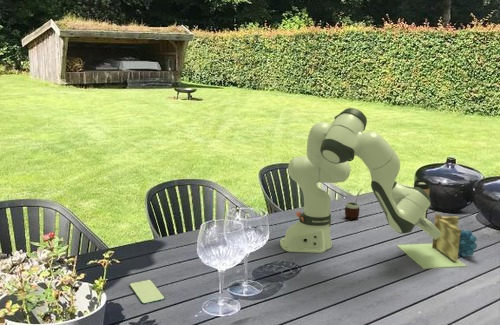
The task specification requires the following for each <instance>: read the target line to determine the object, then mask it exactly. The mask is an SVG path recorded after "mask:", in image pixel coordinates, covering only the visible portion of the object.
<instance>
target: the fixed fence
mask: <svg viewBox="0 0 500 325" xmlns="http://www.w3.org/2000/svg"><path fill="white" fill-rule="evenodd" d="M438 219H444V220H445V221H447V222H449V223H450V224H452V225H454V226H455V227H457V228H458V227H459V220H460V217H459V216H457V215H454V216H452V215H450V216H442V215H441V214H435V215H434V223H433V224H434V225H435V226H436V227H437V228H438V222H439V221H438ZM436 242H437V239H436V240H435V239H434V238H432V243H433V244H432V248H434V249H437V248H436Z"/></svg>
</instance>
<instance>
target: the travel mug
mask: <svg viewBox="0 0 500 325" xmlns="http://www.w3.org/2000/svg"><path fill="white" fill-rule="evenodd" d="M413 187H419V188H421V189H423V190H424V191H425V192H426V193H427V194H428V195H429V196H430V190H431V182H430V181H426V180H414V183H413ZM428 210H429V208H428V209H427V210H426V214H425V215H426V217H425V218H426V219H428Z"/></svg>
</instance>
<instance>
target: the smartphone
mask: <svg viewBox="0 0 500 325" xmlns="http://www.w3.org/2000/svg"><path fill="white" fill-rule="evenodd" d="M129 287H130V289H131V291H132V292H133V293H134V294H135V296H136V297H137V299H138V300H139V302H140V303H141V304H142V305H148V304H147V303H149V304H152V302H153V303H155V302H156V301H157V302H161V300H162V301H164V300H165V298H166V297H165V296H164V295H163V293H162V292H161V291H160V290H159V288H158V287H157V286H156V285H155V283H154V282H153V280H152V279H146V280H140V281H135V282H131V283H129Z"/></svg>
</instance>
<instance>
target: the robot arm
mask: <svg viewBox="0 0 500 325" xmlns="http://www.w3.org/2000/svg"><path fill="white" fill-rule="evenodd" d="M333 118H334V120H333V121H332V122H331V123H329V122H326V121H320V122H316V123H315V124H313V125H312V127H311V128H310V130H309V133H308V137H307V144H306V155H301V156H295V157H293V158H291V160H290V161H289V163H288V167H287V172H288V174H289V177H290V178H291V180H293V181H294V182H296V183H297V185H298V186H299V188H300V189H301V191H302V194H303V205H304V206H303V207H304V208H303V212H300V211H297V212H296V217H297V218H299V220H298V221H297V222H296V223H294V224H293V225H291V226H289V227H288V228H287V229H286V232H285V237H283V238H280V239H279V245H280V247H281V248H282V249H283V250H284V251H286V252H290V253H312V254H313V253H316V254H318V253H319V254H322V253H325V252H326V251H328V250H330V249H331V248H332V247H333V243H332V242H333V241H332V238H331V236H332V235H331V226H332V224H331V223H332V214H331V204H332V203H331V201H332V200H331V199H332V198H331V195H330V194H329V193H328V192H327V191H326V190H323V189H321V188H320V187H319V186H318V185H317V184H318V183H321V184H322V183H325V184H337V183H344V182H346V181H347V180H348V179H349V177H350V175H351V165H350V162H352V161H353V160H354V159H355V156H356V157H357V158H359V159H360V160H361V161H362V162H363V164H365V166H366V167H367V169H368V171H369V173H370V179H371V181H370V182H371V184H370V187H371V190H372V192H373V194H374V196H375V198H376V200H377V201H378V204H379V205H380V207H381V210H382V211H383V213H384V215H385V217H386V220H387V224H388V225H389V227H390V228H391V229H392V230H394V231H395V232H396V233H397V234H401V235H402V234H403V235H404V234H409V233H411V232H412V231H413V229H414V227H416V226H417V227H418V228H420V230H422V231H423V232H424V233H426V234H427V235H428V236H430V237H431V238H432V239H433V238H434V239H435V240H436V239H437V238H439V237H440V236H441V234H442V233H441V232H440V231H439V230H438V228H437V227H436V226H435V225H434V224H435V223H434V222H433V223H432V221H430V220H429V219H428V218H427V219H426V218H425V217H426V215H425V214H426V210H427V209H428V210H429V208H430V206H431V205H432V200H431V197H430V194H429V195H428V194H427V193H426V192H425V191H424V190H423V189H421V188H419V187H414V186H413V187H407V186H404V185H403V184H401V183H400V182H399V181H396V179H397V177H398V175H399V173H400V168H401V161H400V158H399V155H398V154H397V152H396V151H395V150H394V149H393V148H392V146H391V145H390V144H389V142H388V141H387V140H386V139H384V137H382V135H380V134H379V133H378V132H376V131H373V130H369V131H366V132H364V131H365V130H366V127H367V123H368V119H367V116H366V115H365V113H363V112H362V111H361V110H359V109H357V108H353V107H348V108H345V109H344V110H342V111H341V112H339V114H337V115H335V116H334V117H333Z"/></svg>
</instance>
